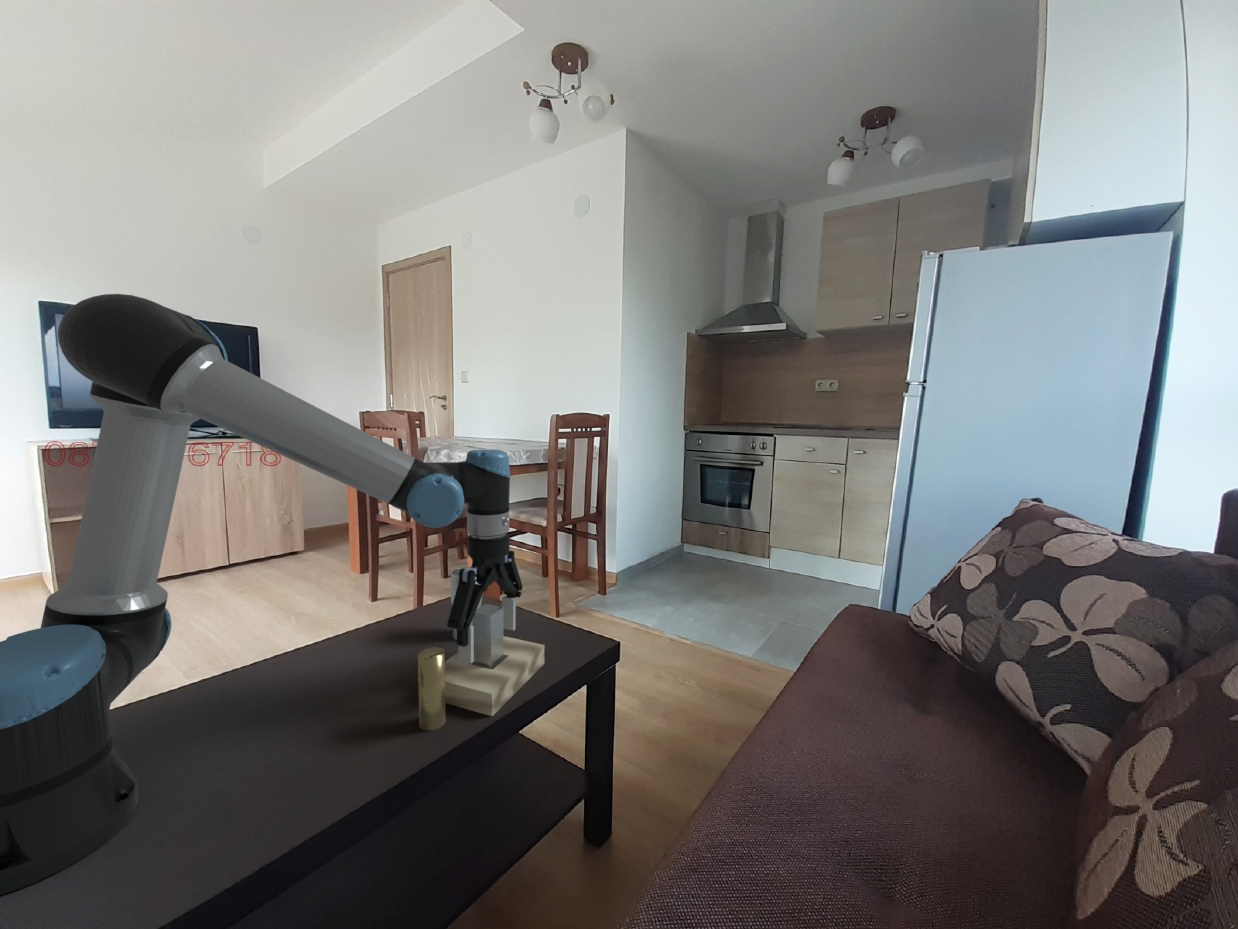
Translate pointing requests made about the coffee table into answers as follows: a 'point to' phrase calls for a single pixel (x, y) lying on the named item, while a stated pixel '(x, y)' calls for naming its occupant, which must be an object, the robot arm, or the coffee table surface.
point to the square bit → (488, 636)
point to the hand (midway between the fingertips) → (488, 643)
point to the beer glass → (454, 587)
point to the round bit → (431, 688)
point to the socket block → (492, 677)
